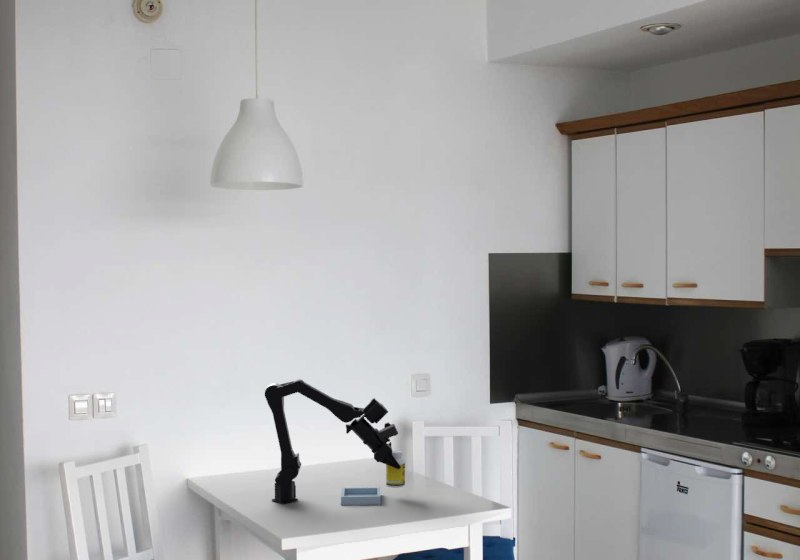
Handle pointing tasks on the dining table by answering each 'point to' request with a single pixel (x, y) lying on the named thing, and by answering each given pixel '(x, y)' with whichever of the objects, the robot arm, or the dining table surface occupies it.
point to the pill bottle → (396, 471)
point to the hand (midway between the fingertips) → (399, 466)
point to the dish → (360, 496)
